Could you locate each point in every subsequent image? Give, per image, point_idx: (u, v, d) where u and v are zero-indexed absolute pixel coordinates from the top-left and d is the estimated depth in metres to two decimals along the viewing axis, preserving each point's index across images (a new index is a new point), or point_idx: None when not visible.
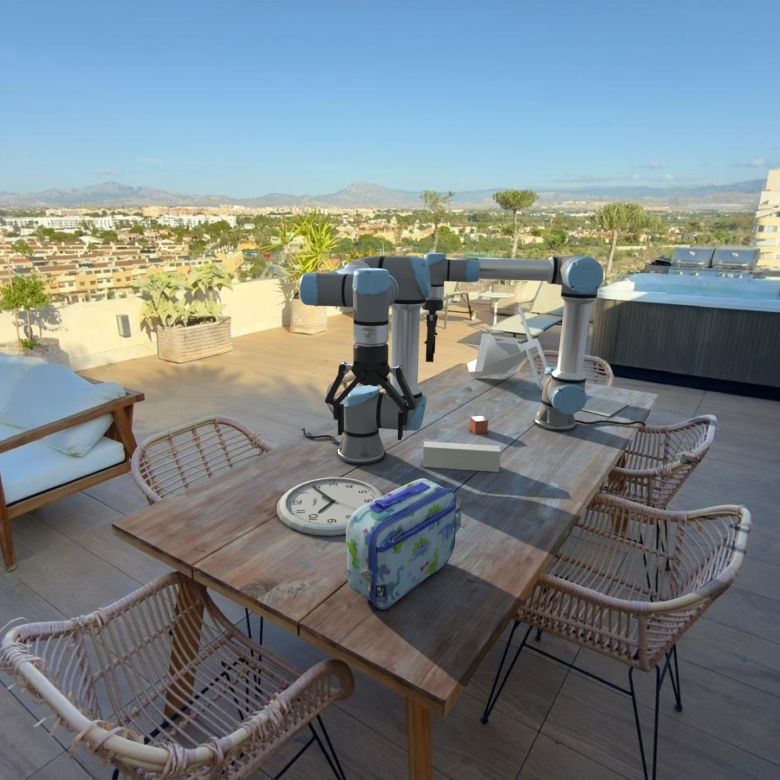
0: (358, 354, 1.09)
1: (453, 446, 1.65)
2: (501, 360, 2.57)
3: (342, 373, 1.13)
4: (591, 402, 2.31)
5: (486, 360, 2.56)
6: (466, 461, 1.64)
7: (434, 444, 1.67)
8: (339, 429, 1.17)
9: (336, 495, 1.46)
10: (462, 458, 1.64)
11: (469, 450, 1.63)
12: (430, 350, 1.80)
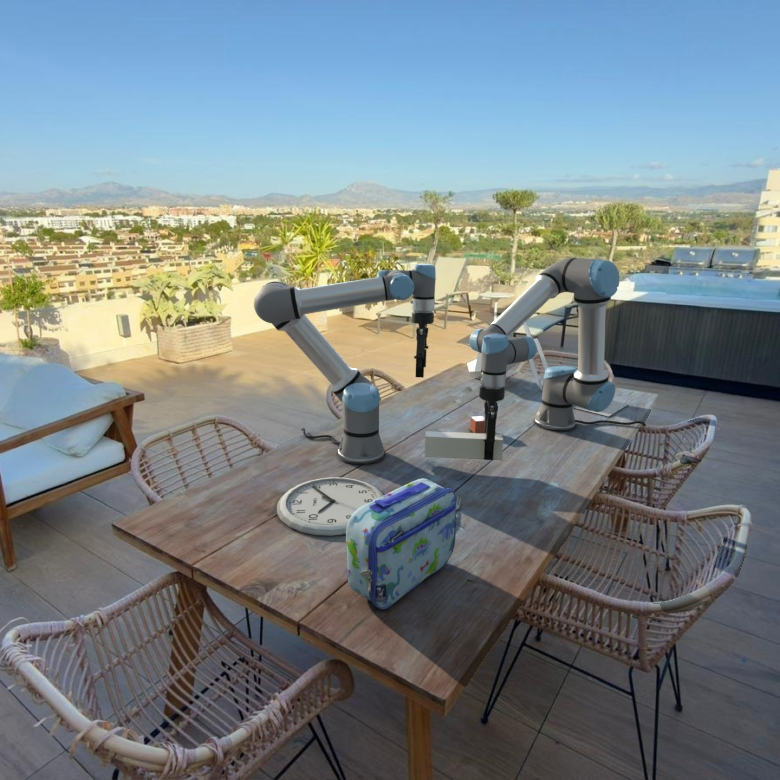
0: None
1: (455, 435, 1.64)
2: None
3: None
4: None
5: None
6: (468, 450, 1.63)
7: (436, 433, 1.66)
8: None
9: (336, 495, 1.46)
10: (464, 447, 1.63)
11: (471, 439, 1.62)
12: (490, 448, 1.60)
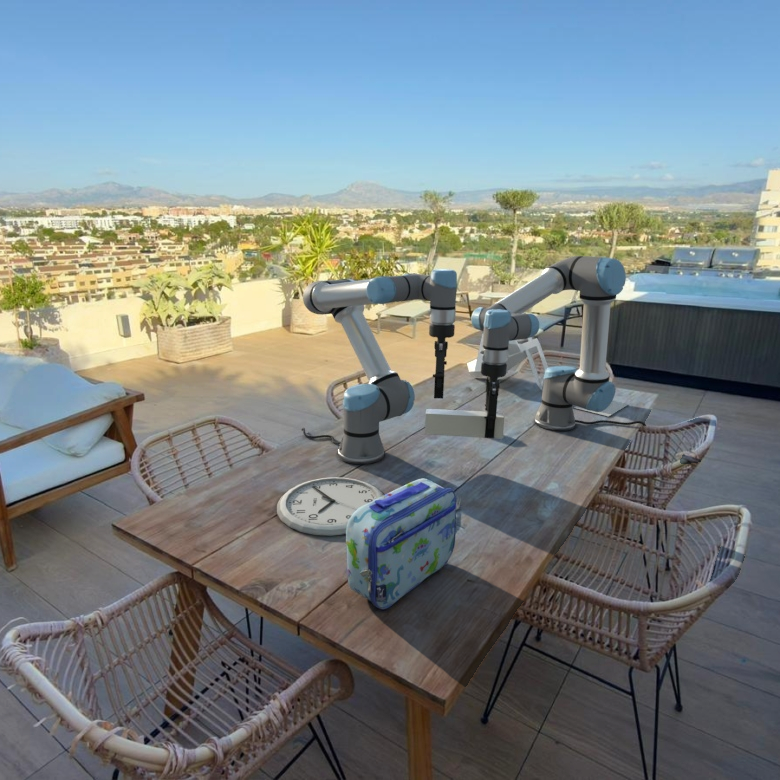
0: None
1: (455, 413, 1.62)
2: None
3: None
4: None
5: None
6: (469, 427, 1.61)
7: (436, 411, 1.63)
8: None
9: (336, 495, 1.46)
10: (465, 425, 1.61)
11: (472, 416, 1.60)
12: (491, 426, 1.58)
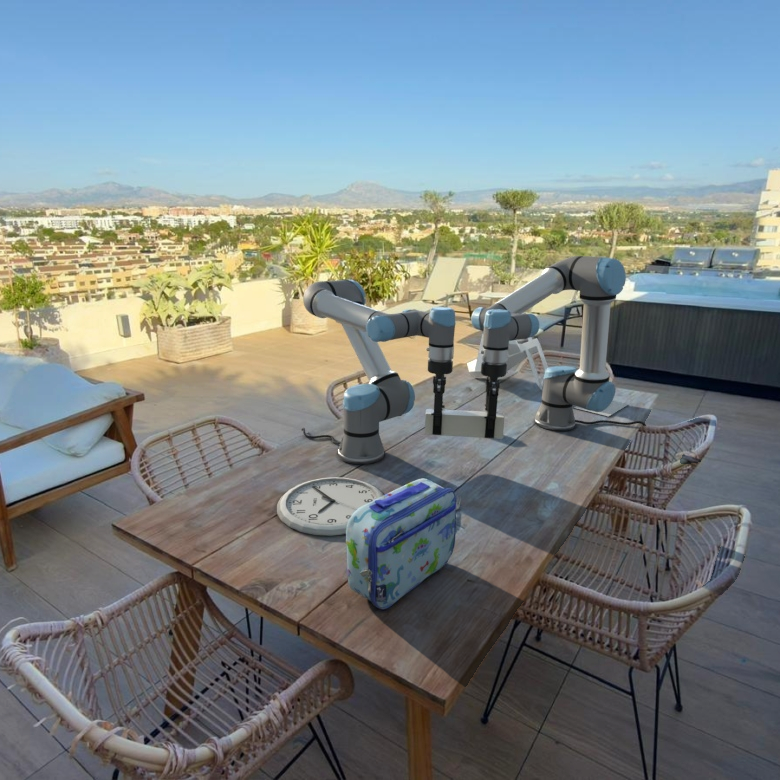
0: None
1: (455, 413, 1.62)
2: None
3: None
4: None
5: None
6: (469, 428, 1.61)
7: None
8: None
9: (336, 495, 1.46)
10: (465, 425, 1.61)
11: (472, 416, 1.60)
12: (491, 426, 1.58)
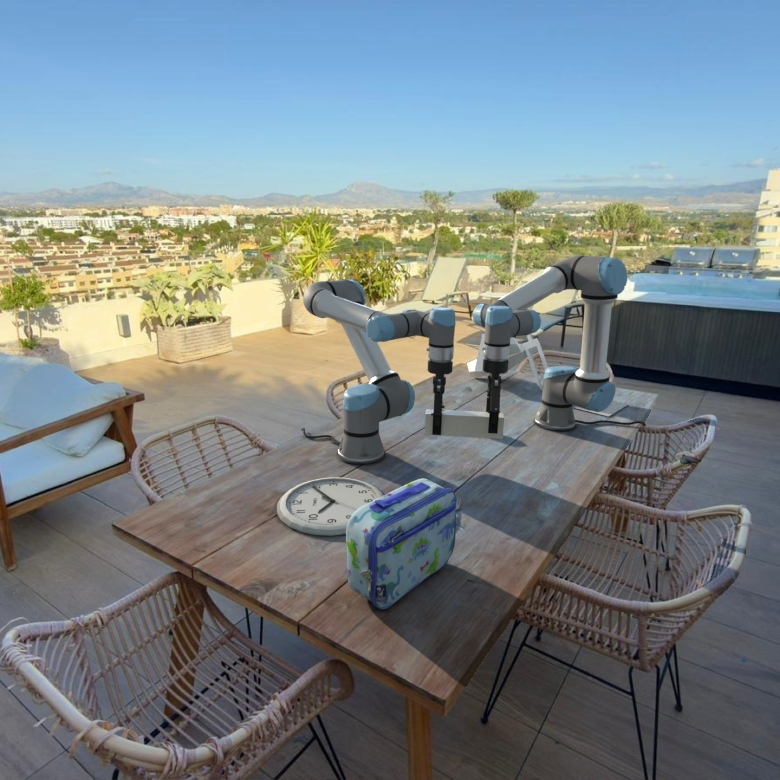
0: None
1: (455, 413, 1.62)
2: None
3: None
4: None
5: None
6: (468, 428, 1.61)
7: None
8: None
9: (336, 495, 1.46)
10: (465, 425, 1.61)
11: (472, 417, 1.60)
12: (494, 421, 1.54)
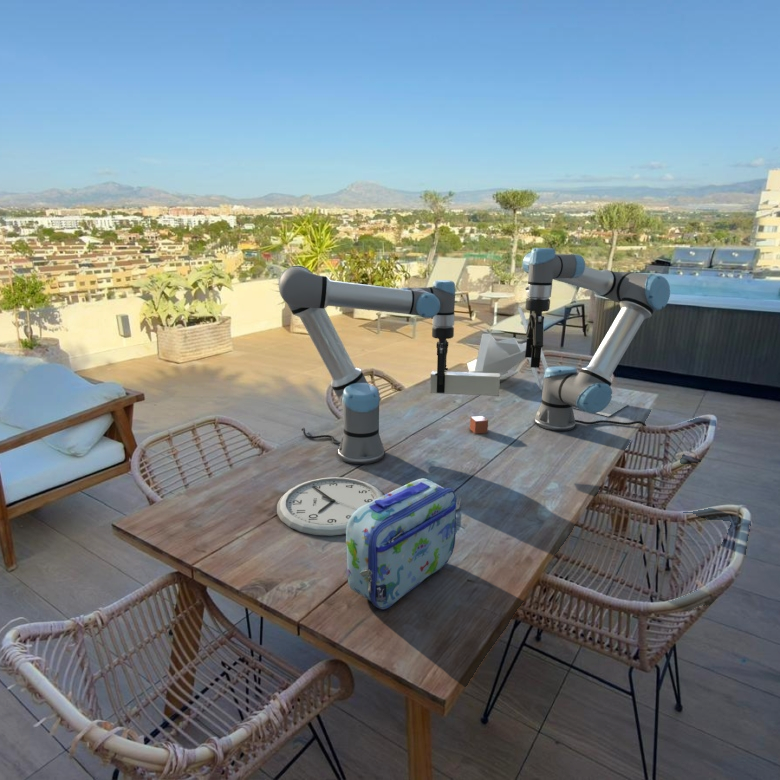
0: None
1: (457, 373, 1.84)
2: (501, 360, 2.57)
3: None
4: None
5: (486, 360, 2.56)
6: (469, 386, 1.83)
7: None
8: None
9: (336, 495, 1.46)
10: (465, 384, 1.83)
11: (471, 376, 1.82)
12: (537, 355, 1.65)
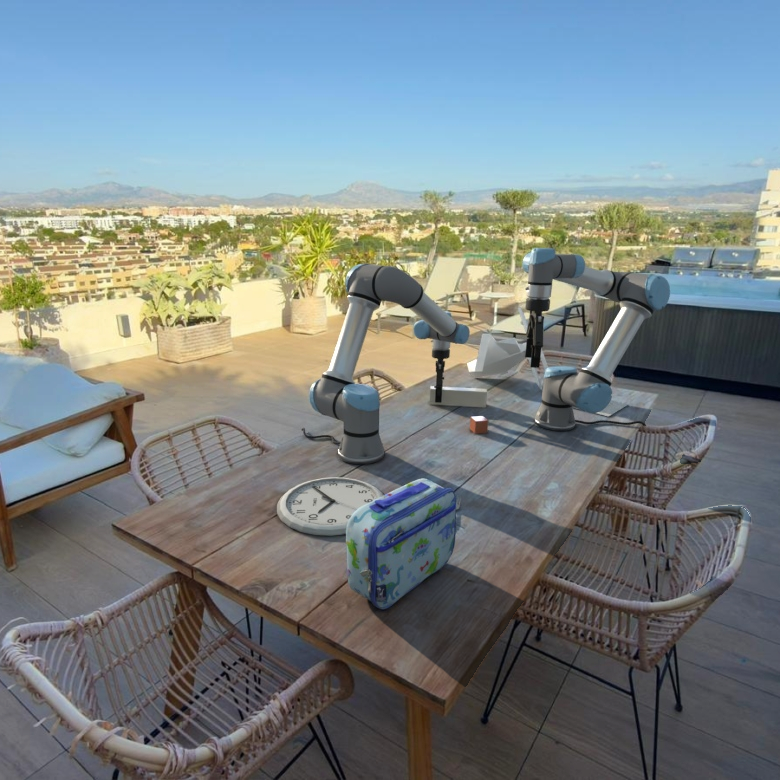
0: None
1: (452, 388, 2.24)
2: (501, 360, 2.57)
3: None
4: None
5: (486, 360, 2.56)
6: (461, 399, 2.23)
7: None
8: None
9: (336, 495, 1.46)
10: (458, 397, 2.23)
11: (464, 391, 2.22)
12: (537, 355, 1.65)
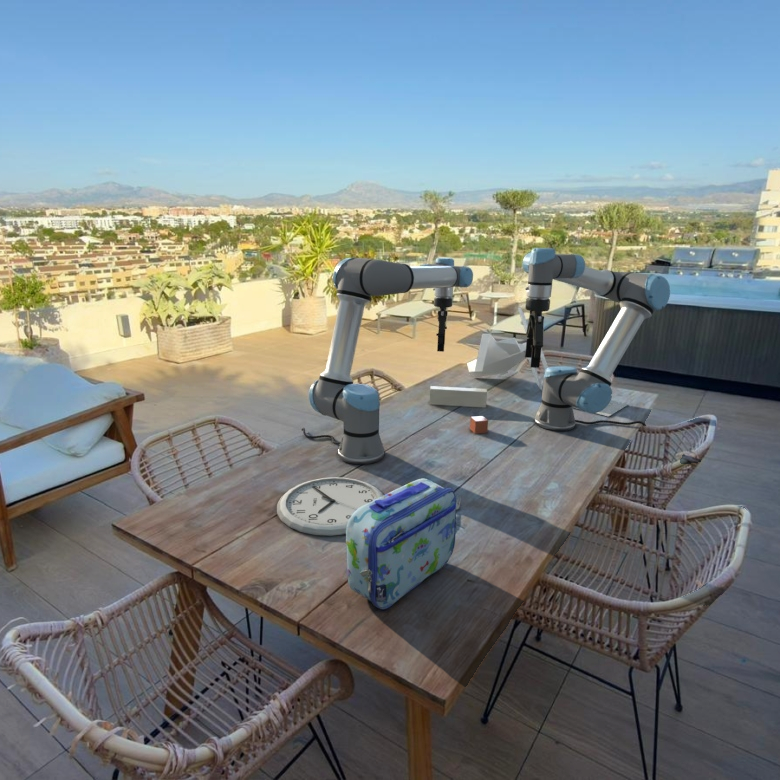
0: None
1: (452, 388, 2.24)
2: (501, 360, 2.57)
3: None
4: None
5: (486, 360, 2.56)
6: (461, 399, 2.23)
7: (438, 387, 2.25)
8: None
9: (336, 495, 1.46)
10: (458, 397, 2.23)
11: (464, 391, 2.22)
12: (537, 355, 1.65)
